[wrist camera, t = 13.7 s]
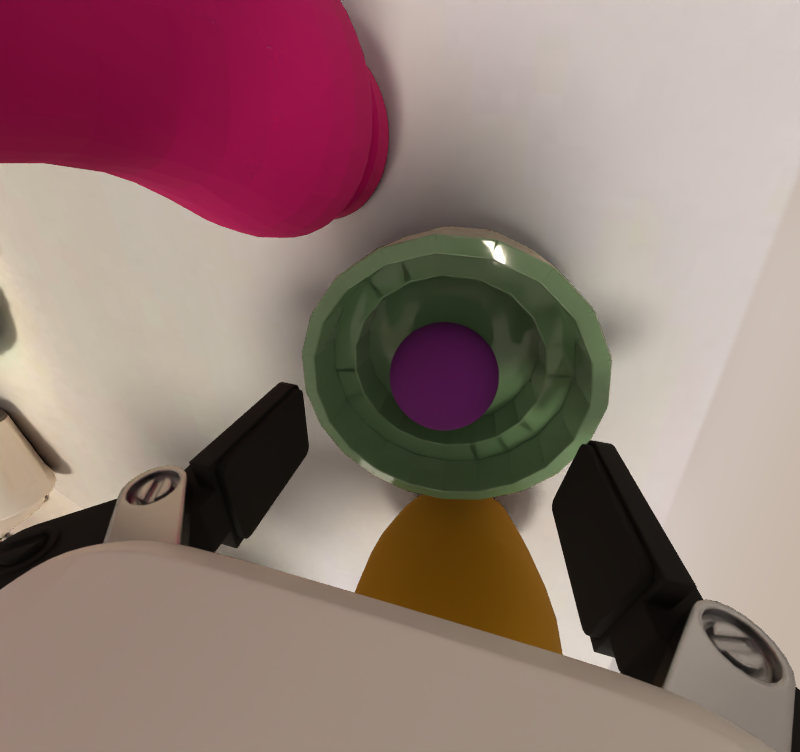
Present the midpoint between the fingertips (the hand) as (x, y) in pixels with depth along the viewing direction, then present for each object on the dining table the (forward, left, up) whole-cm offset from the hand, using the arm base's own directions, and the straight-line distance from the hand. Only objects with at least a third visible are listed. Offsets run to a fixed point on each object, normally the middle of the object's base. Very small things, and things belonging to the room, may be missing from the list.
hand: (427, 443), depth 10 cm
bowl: (0, 0, -8) cm, 8 cm away
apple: (+3, -12, -8) cm, 15 cm away
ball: (0, 0, -7) cm, 7 cm away
